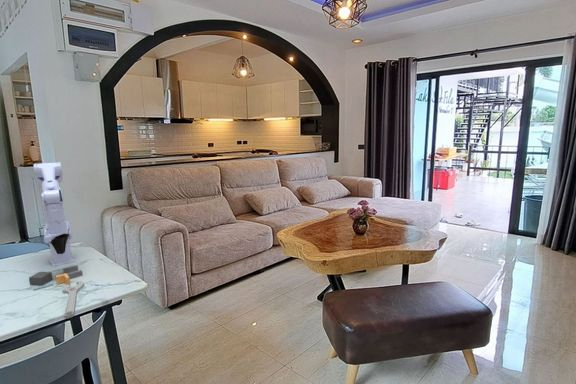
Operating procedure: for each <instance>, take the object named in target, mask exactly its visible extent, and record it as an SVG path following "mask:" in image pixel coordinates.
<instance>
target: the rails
mask: <svg viewBox="0 0 576 384" xmlns="http://www.w3.org/2000/svg"><path fill="white" fill-rule="evenodd" d="M28 281H29V280H28ZM29 283H30V281H29ZM53 286H54V282H53V283H49V284H48V283H47V284H45V285H43V286H38V287H34V288H33V289H32V290H33V291H35V292H36V291H38V290H42V289H45V288H48V287H53Z"/></svg>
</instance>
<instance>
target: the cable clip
mask: <svg viewBox="0 0 576 384" xmlns="http://www.w3.org/2000/svg"><path fill="white" fill-rule="evenodd" d="M62 271H63V273H62V274H65V273H67V275H68V276H69V278H70V280H72V279H76V278H79V277H83V270H82V269H80V270H79V267H78V264H75V265H71V266H67V267H64V268H62Z"/></svg>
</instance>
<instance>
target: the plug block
mask: <svg viewBox="0 0 576 384" xmlns="http://www.w3.org/2000/svg"><path fill="white" fill-rule="evenodd" d="M53 280H54V278H53V272H52V271H39V272H36V273H35V274H33V275H31V276H29V277H28V281H30V282H29V285H30V286H38V287H41V286H45V285H47V284H48V283H50V282H51V281H53Z"/></svg>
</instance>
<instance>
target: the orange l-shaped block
mask: <svg viewBox="0 0 576 384" xmlns="http://www.w3.org/2000/svg"><path fill="white" fill-rule="evenodd" d="M67 274H68V273H65V274H64V273H61V274H58V275H55V282H56V285H61V284H66V285H69V286H71V279H70V278H69V276H68V275H67Z"/></svg>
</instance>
